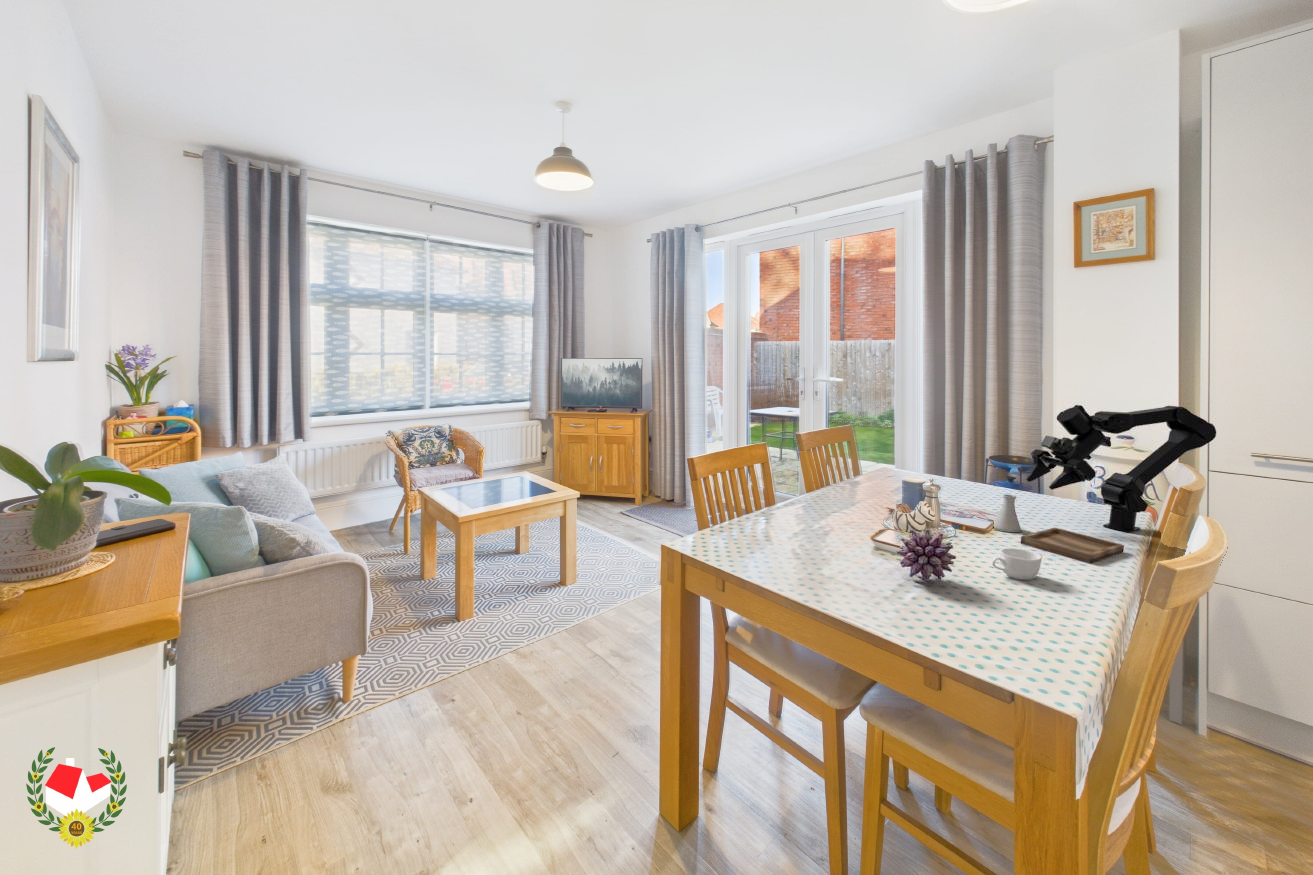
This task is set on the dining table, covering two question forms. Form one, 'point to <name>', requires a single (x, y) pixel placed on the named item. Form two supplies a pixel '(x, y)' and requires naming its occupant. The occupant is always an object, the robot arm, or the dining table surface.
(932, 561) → the flower
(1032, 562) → the teacup
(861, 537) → the dining table surface
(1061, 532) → the walnut tray
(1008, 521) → the flask
